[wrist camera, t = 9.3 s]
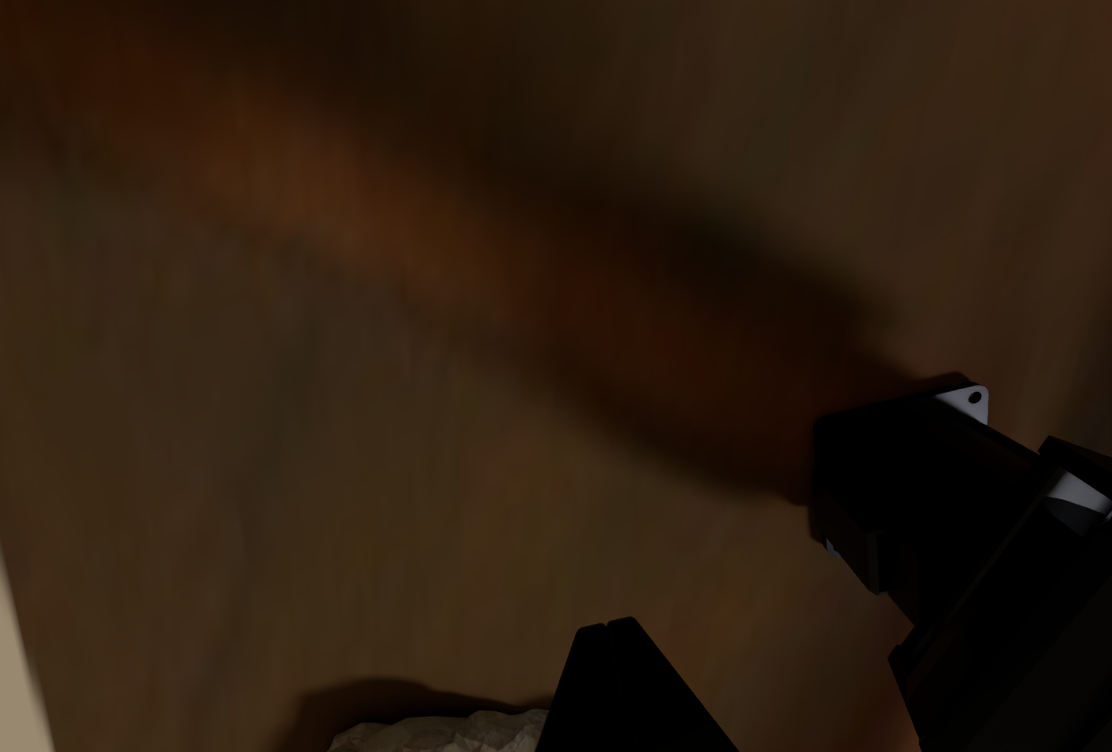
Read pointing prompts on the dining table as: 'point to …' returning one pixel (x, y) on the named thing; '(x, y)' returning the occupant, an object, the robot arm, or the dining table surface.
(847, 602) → the dining table surface
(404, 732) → the clay tablet
